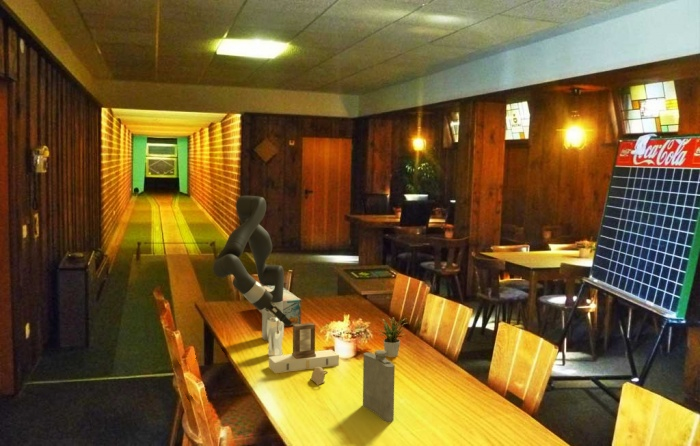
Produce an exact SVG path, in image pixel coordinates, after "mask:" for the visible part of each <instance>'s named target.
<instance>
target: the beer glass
mask: <svg viewBox="0 0 700 446" xmlns="http://www.w3.org/2000/svg"><path fill="white" fill-rule="evenodd" d="M284 330H285V326H284V323H283V322H282V321H280V320H279V319H277V318H275V317H271V318H268V319H267V337H268V351H267V356H269V357H272V356H281V355H284V354H283V346H282V345H283V339H284V333H285V331H284Z"/></svg>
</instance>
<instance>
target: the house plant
mask: <svg viewBox="0 0 700 446" xmlns="http://www.w3.org/2000/svg"><path fill="white" fill-rule="evenodd" d="M387 318H388V319H389V321H390V325H391V326H390V325H389V324H388V322H387V321H386V320H385V319H384V318H381V319H382V321H383V323H384V326H383V328H384V329H383V330H380V329H378V331H379V332H381V333H379V334H378V336H382V337H384V339H383V341H382V343H383V348H384V351H386V355H385V356H386V357H387V358H388V357H389V358H396V357H398V355H399V350H400V346H401V339H399V338H404V336H406V333H403V331H404V330H405V328H403V329H402V327H403V326H404V325H406V324H407V322H404V321H405V320H407V319H408V318H407V317H406V318H403V319H401V320H400V321H397V322H396V320H395V317H394V316H392V319H391V317H388V316H387ZM403 322H404V323H403ZM401 324H402V325H401ZM400 325H401V326H400Z"/></svg>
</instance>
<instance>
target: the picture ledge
mask: <svg viewBox="0 0 700 446" xmlns="http://www.w3.org/2000/svg"><path fill="white" fill-rule="evenodd" d="M315 354H316V357H309V358H301V359H296V358H294V357H293V356H292V353H291V354H290V353H289V354H283V355H281V356H269V357H268V367H269V369H270V370H271V371H272V372H273V373H274V374H279V373H281V374H282V373H287V372H288V373H289V372H296V371H304V370H314V369H315V368H316V367H321V368H326V367H334V366H335V367H336V366H339V365H340V355H339V354H338V353H337V352H335V351H334V350H332V349H325V350H315Z"/></svg>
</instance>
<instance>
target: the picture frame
mask: <svg viewBox="0 0 700 446" xmlns="http://www.w3.org/2000/svg"><path fill="white" fill-rule="evenodd" d="M315 351H316V324H315V323H314V322H307V323H306V322H305V323H301V324H294V325H292V352H291V354H292V356H293V357H294V358H296V359H301V358H309V357H316V354H315Z"/></svg>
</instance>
